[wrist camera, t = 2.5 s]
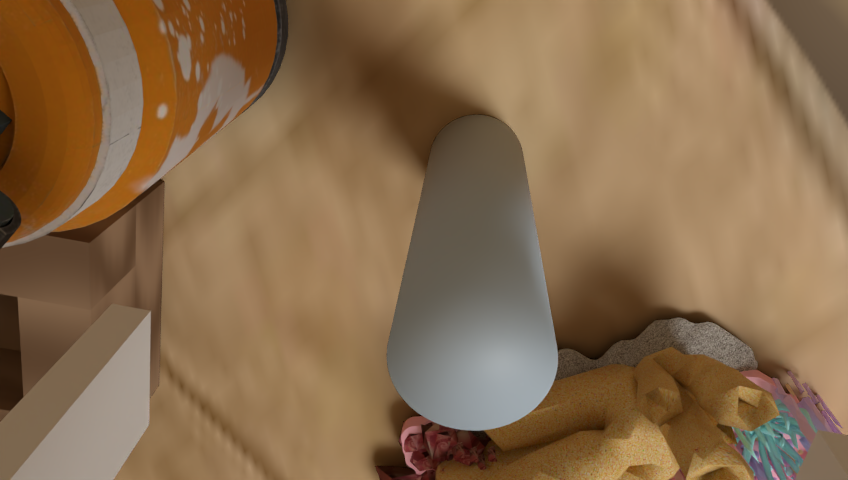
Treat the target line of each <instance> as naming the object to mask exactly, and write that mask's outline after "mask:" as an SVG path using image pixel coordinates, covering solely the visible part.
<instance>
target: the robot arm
mask: <svg viewBox="0 0 848 480" xmlns="http://www.w3.org/2000/svg"><path fill="white" fill-rule="evenodd" d="M150 334H151V311H150V310H144V309H138V308H133V307H127V306H122V305H116V304H111V305H110V306H109V307H108V308H107V310H106V311H105V312H104V313H103V314H102V315H101V316H100V317H99V318H98V319H97V320H96V321H95V322H94V323H93V324H92V325H91V326H90V328H89V329H88V330H87V331H86V332H85V333H84V334H83V335H82V336H81V337H80V338H79V339H78V340H77V341H76V342H75V343H74V344H73V345H72V347H71V348H70V349H69V350H68V351H67V352H66V353H65V354H64V355H63V356H62V357H61V358H60V359H59V360H58V361H57V362H56V363H55V364H54V366H53V367H52V368H51V369H50V370H49V371H48V372H47V373H46V374H45V375H44V376H43V377H42V378H41V379H40V380H39V381H38V382H37V384H36V385H35V386H34V387H33V388H32V389H31V390H30V391H29V392H28V393H27V394H26V395H25V396H24V397H23V398H22V399H21V400H20V401H19V403H18V404H17V405H16V406H15V407H14V408H13V409H12V410H11V411H10V412H9V413H8V414H7V415H6V416H5V417H4V418H3V419H2V421H1V422H0V480H113V479H114V478H115V476H116V475H117V473H118V472H119V470H120V469H121V467H122V465H123V464H124V462H125V461H126V459H127V458H128V456H129V455H130V453H131V452H132V450H133V449H134V447H135V446H136V444H137V442H138V441H139V439H140V438H141V436H142V435H143V433H144V432H145V430H146V429H147V427H148V426H149V400H150ZM795 480H848V435H844V434H838V433H833V432H827V431H822V430H818V431H817V433H816V435H815V438H814V440H813V442H812V444H811V446H810V448H809V450H808V453H807V455H806V457H805V459H804V461H803V463H802V465H801V468H800V470H799V472H798V474H797V476H796V478H795Z"/></svg>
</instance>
